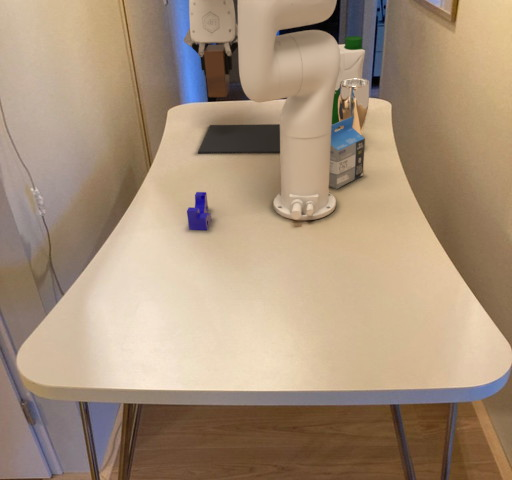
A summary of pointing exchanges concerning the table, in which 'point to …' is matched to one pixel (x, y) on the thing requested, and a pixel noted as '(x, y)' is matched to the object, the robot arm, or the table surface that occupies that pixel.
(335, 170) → the label tape box
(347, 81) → the silver metal cup
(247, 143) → the mat
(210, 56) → the walnut block
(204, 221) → the cable holder
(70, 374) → the table surface
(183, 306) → the table surface
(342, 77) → the milk carton
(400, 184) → the table surface
